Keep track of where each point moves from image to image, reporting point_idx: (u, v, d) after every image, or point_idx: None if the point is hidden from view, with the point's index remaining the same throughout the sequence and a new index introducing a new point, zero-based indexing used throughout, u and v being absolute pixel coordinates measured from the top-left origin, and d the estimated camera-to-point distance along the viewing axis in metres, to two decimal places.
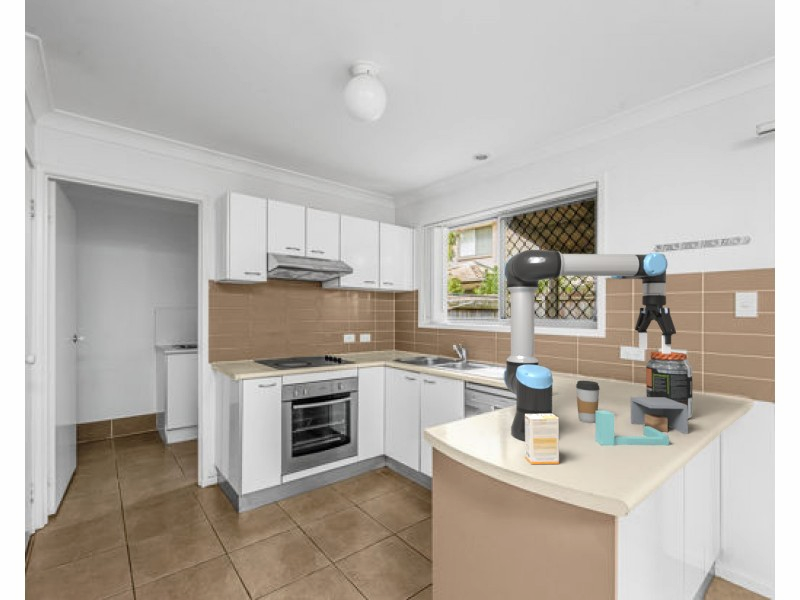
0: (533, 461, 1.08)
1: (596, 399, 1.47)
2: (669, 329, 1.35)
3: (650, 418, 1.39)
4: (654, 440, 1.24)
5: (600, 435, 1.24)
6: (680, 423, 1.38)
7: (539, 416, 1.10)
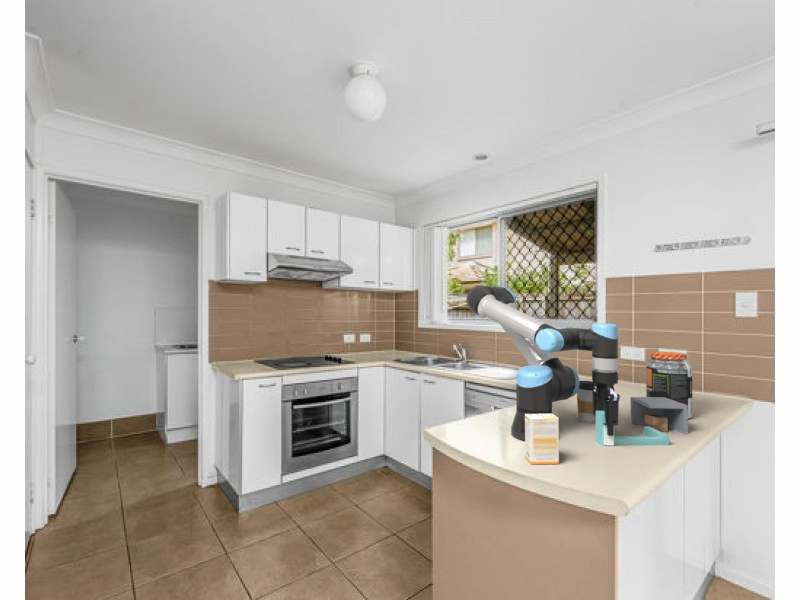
0: (533, 461, 1.08)
1: None
2: (611, 421, 1.20)
3: (650, 418, 1.39)
4: (654, 440, 1.24)
5: (600, 435, 1.24)
6: (680, 423, 1.38)
7: (539, 416, 1.10)
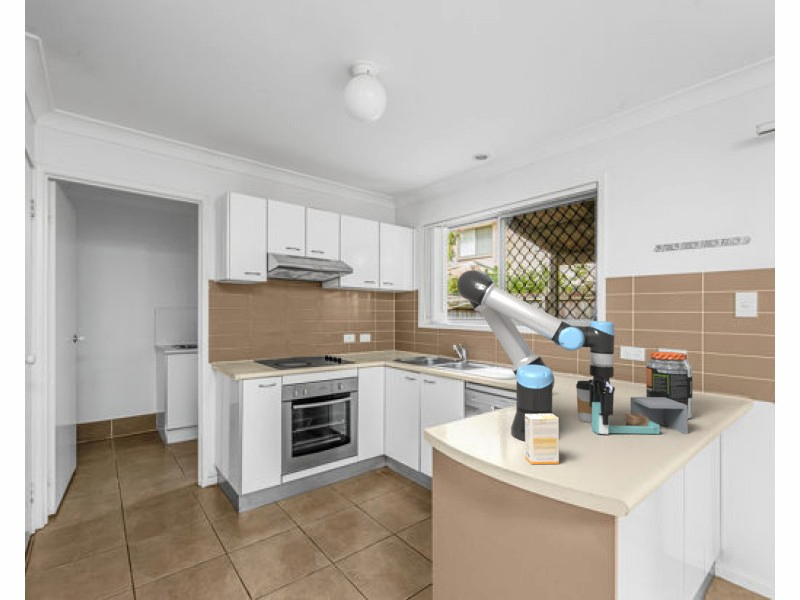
0: (533, 461, 1.08)
1: None
2: (607, 411, 1.30)
3: (631, 417, 1.39)
4: (646, 429, 1.35)
5: (596, 424, 1.35)
6: (680, 423, 1.38)
7: (539, 416, 1.10)
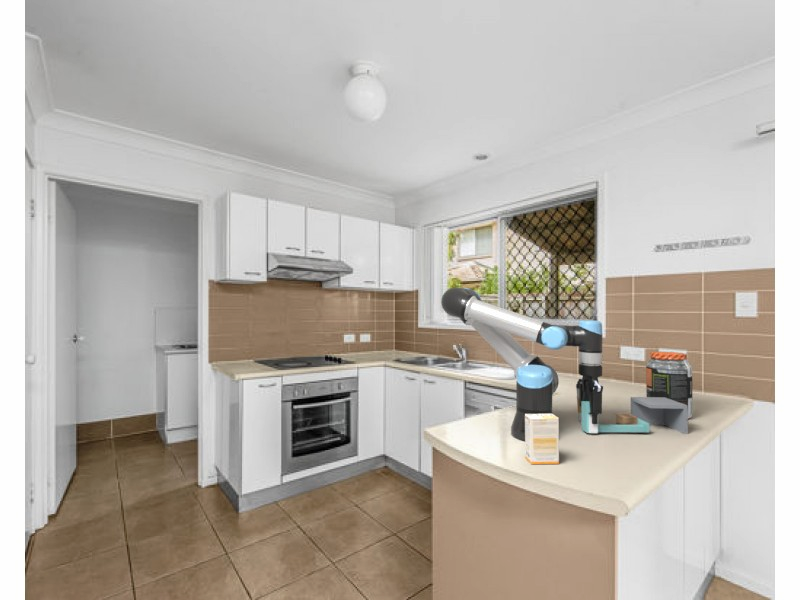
0: (533, 461, 1.08)
1: None
2: (595, 410, 1.30)
3: (620, 417, 1.39)
4: (635, 427, 1.34)
5: (585, 424, 1.34)
6: (680, 423, 1.38)
7: (539, 416, 1.10)
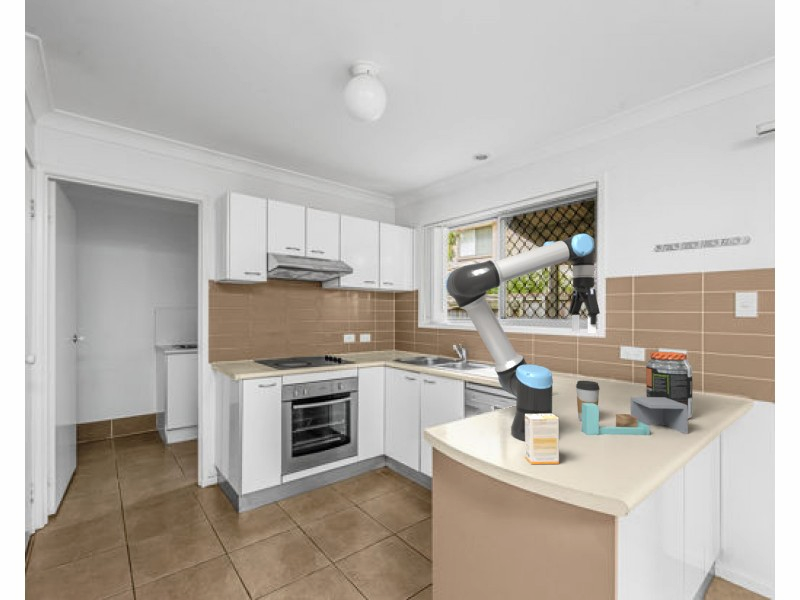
0: (533, 461, 1.08)
1: (596, 399, 1.47)
2: (593, 309, 1.39)
3: (621, 418, 1.39)
4: (636, 430, 1.34)
5: (586, 425, 1.35)
6: (680, 423, 1.38)
7: (539, 416, 1.10)
